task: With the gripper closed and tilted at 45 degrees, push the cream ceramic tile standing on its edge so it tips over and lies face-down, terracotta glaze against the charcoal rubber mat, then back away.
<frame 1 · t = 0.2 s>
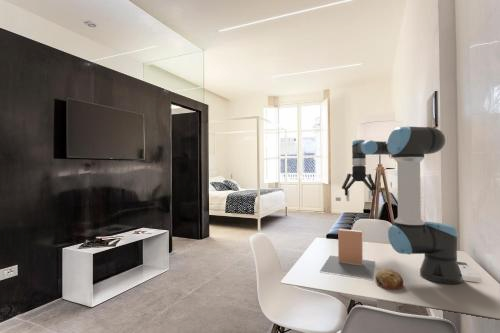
hand: (359, 201, 169), 28 cm above the table, tool pointing down, fingers open, 13 cm apart
mat: (348, 267, 135), on the table
bread roll: (389, 285, 114), on the table
tile: (350, 262, 140), point 1 cm above the table, touching mat
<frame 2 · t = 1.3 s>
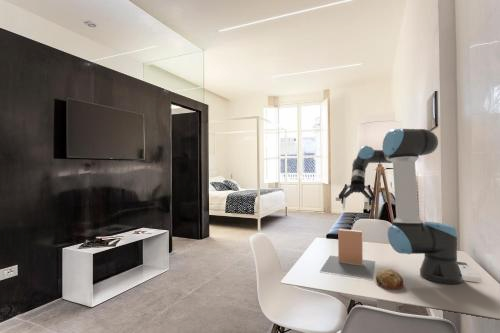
hand: (355, 208, 152), 25 cm above the table, tool tilted 45°, fingers open, 12 cm apart
nothing on the table moved.
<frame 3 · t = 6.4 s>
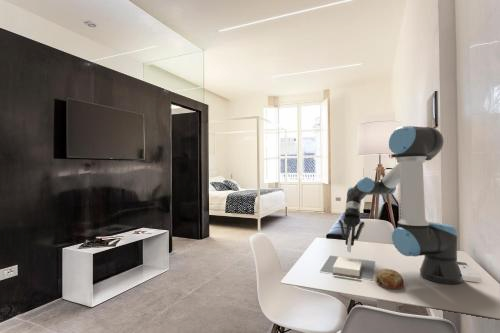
hand: (348, 250, 138), 7 cm above the table, tool tilted 45°, fingers closed
tile: (350, 258, 137), point 3 cm above the table, tilted 90°, touching mat
everything else where it was.
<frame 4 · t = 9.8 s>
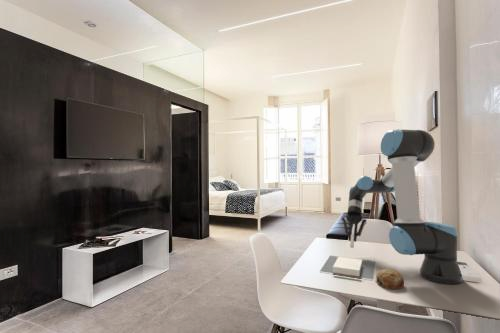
hand: (351, 246, 145), 7 cm above the table, tool tilted 45°, fingers closed
nothing on the table moved.
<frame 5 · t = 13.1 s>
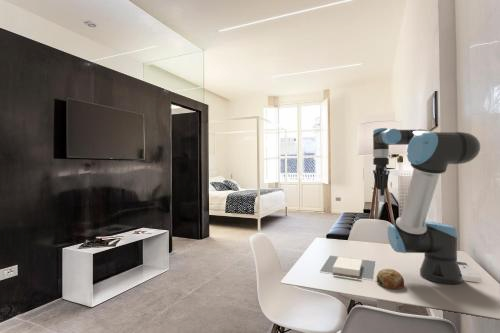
hand: (381, 201, 152), 29 cm above the table, tool pointing down, fingers closed
nothing on the table moved.
at the end: tile tilted 90°; tile inside the target area (1.1 cm from its centre), point 3.4 cm above the table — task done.
